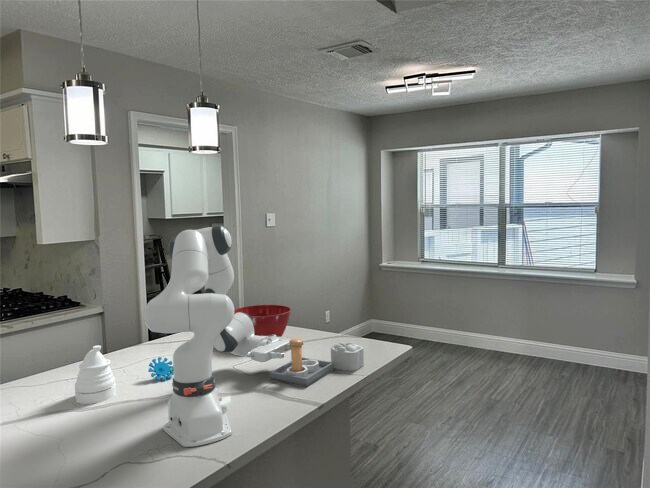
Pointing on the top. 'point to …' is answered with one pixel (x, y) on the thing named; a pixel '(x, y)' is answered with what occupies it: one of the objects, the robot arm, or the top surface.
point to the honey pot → (94, 379)
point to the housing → (303, 372)
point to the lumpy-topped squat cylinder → (347, 356)
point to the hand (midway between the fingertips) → (290, 352)
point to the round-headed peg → (296, 354)
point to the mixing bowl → (267, 318)
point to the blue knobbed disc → (161, 369)
